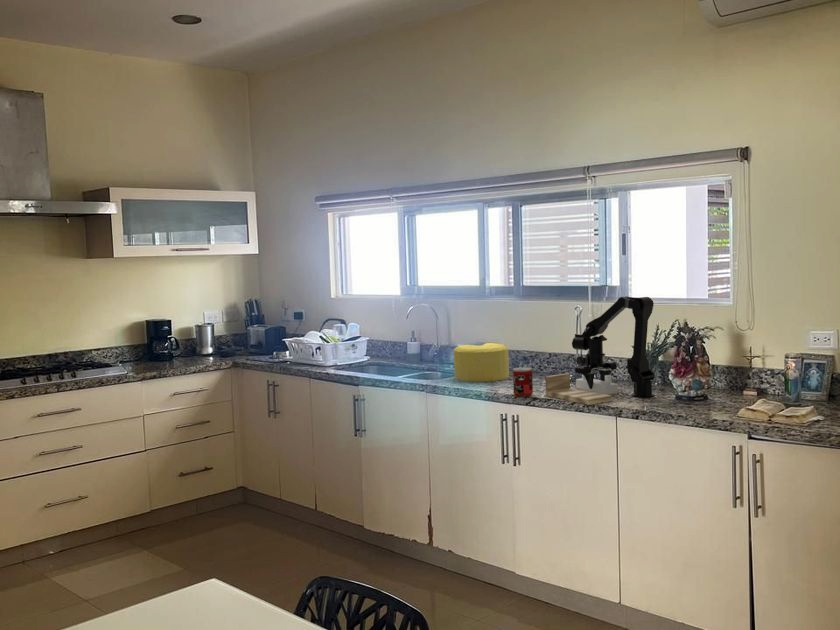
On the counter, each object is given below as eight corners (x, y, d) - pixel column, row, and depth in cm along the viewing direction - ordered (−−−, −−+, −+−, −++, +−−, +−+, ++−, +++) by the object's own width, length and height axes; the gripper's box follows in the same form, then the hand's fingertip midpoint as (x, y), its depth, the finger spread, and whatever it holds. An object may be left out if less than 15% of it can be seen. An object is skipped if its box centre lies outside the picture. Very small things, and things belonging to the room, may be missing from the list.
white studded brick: (618, 393, 324) (617, 375, 324) (606, 395, 322) (606, 377, 321) (587, 386, 342) (587, 369, 342) (576, 388, 340) (575, 371, 339)
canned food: (510, 394, 332) (509, 368, 331) (526, 392, 335) (526, 366, 334) (519, 397, 325) (518, 370, 324) (536, 395, 328) (535, 368, 327)
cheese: (472, 371, 397) (471, 341, 396) (519, 374, 382) (518, 343, 380) (444, 379, 376) (443, 348, 374) (492, 383, 361) (490, 350, 359)
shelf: (612, 400, 309) (611, 380, 309) (589, 405, 303) (588, 384, 302) (568, 392, 331) (567, 373, 330) (545, 395, 325) (545, 376, 324)
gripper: (598, 347, 342) (599, 382, 344) (565, 351, 333) (566, 388, 334) (617, 349, 333) (618, 386, 334) (584, 354, 323) (585, 391, 325)
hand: (596, 387), depth 332 cm, fingers closed on white studded brick, 6 cm apart
